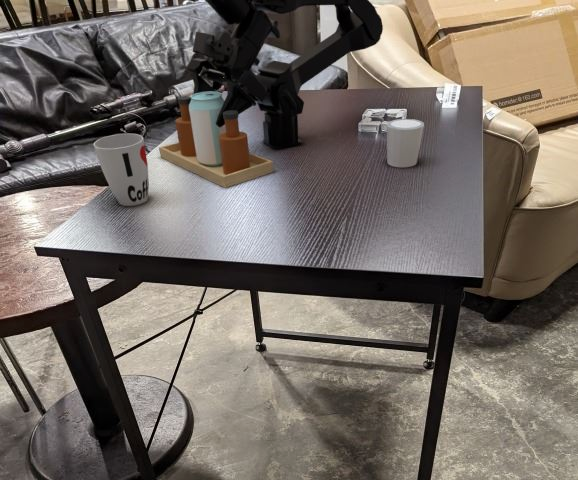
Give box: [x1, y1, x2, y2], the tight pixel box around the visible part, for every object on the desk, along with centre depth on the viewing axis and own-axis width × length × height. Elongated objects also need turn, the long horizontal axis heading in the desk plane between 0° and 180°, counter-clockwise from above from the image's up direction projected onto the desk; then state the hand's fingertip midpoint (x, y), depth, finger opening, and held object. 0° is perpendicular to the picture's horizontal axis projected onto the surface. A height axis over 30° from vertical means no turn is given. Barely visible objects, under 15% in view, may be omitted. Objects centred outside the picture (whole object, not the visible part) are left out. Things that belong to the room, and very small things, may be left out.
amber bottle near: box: [219, 110, 250, 175], centre depth 97 cm, size 5×5×10 cm
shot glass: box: [386, 118, 425, 168], centre depth 99 cm, size 7×7×7 cm
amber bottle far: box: [174, 95, 196, 157], centre depth 107 cm, size 5×5×10 cm
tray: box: [158, 141, 274, 189], centre depth 105 cm, size 24×11×2 cm, turn 39°
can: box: [189, 91, 226, 166], centre depth 101 cm, size 7×7×12 cm
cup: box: [93, 133, 150, 207], centre depth 90 cm, size 8×8×10 cm
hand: (204, 121), depth 100 cm, fingers open, 9 cm apart
